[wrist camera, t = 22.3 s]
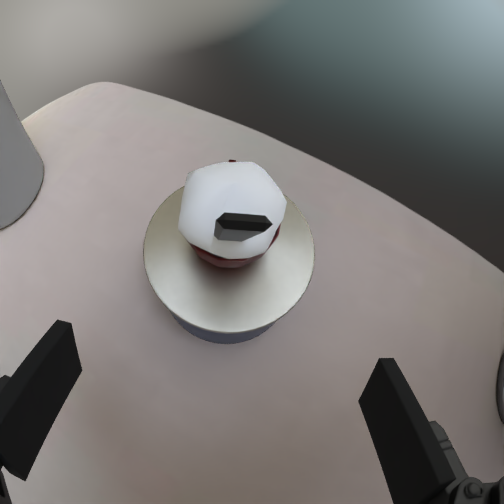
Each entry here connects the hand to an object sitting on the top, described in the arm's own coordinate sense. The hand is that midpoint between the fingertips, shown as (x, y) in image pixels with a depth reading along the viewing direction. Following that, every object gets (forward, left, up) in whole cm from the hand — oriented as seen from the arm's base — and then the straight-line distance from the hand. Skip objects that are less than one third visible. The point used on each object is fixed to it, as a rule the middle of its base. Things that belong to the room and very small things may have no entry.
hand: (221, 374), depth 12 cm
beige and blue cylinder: (-3, -9, -15) cm, 18 cm away
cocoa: (-3, -9, -7) cm, 11 cm away
